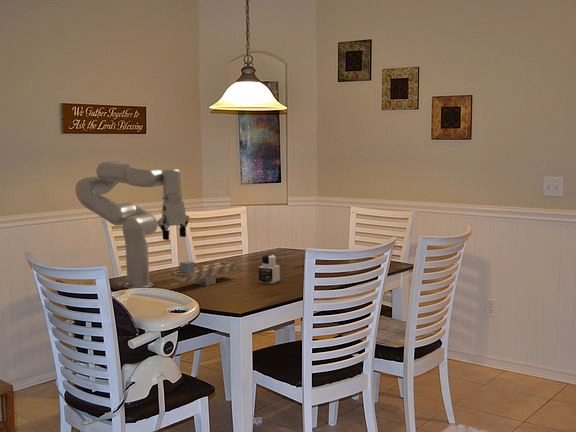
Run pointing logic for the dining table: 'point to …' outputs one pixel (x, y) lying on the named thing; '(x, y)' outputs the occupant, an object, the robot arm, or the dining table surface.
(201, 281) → the fulcrum
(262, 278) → the medicine bottle
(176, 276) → the beam
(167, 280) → the dining table surface
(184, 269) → the block
